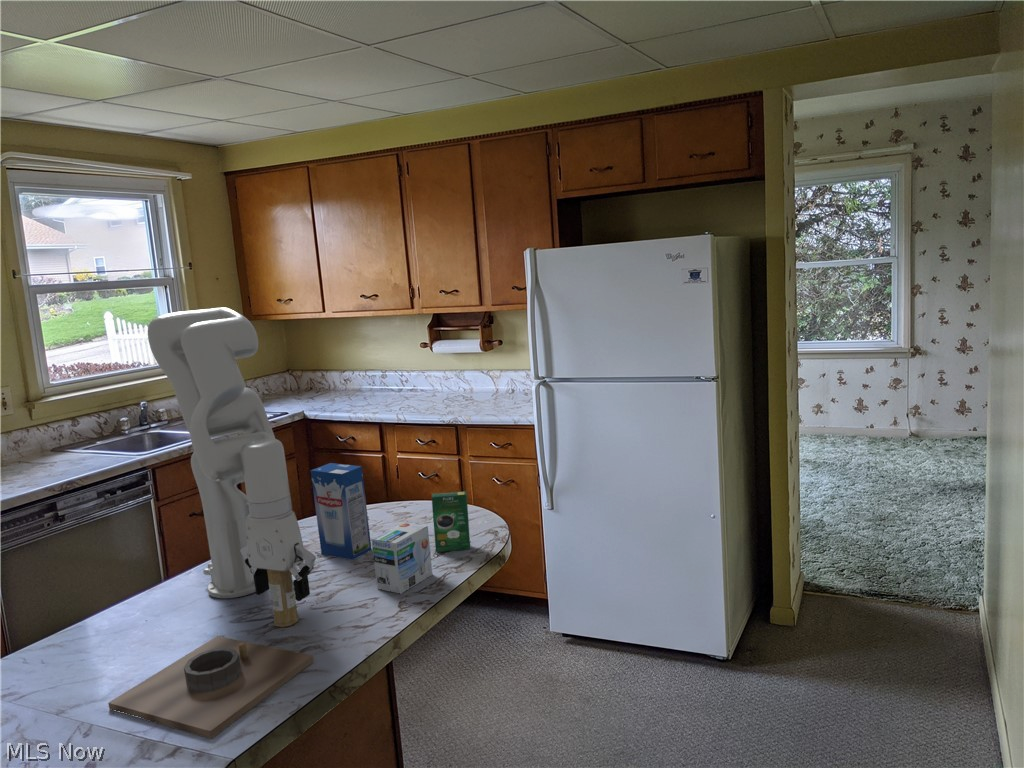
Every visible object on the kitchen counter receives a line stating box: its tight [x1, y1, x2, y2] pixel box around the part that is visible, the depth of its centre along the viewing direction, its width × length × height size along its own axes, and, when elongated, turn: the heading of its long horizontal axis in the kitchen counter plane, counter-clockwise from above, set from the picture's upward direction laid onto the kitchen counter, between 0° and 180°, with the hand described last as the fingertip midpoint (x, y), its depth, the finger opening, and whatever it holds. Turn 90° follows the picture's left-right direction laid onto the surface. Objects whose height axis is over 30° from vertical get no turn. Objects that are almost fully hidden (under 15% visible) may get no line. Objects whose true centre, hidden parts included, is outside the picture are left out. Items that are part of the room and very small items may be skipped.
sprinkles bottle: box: [267, 570, 299, 628], centre depth 145 cm, size 5×5×14 cm
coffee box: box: [431, 490, 471, 553], centre depth 175 cm, size 8×3×13 cm, turn 94°
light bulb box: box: [370, 521, 433, 595], centre depth 159 cm, size 11×7×11 cm, turn 148°
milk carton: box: [310, 462, 373, 561], centre depth 178 cm, size 10×6×20 cm, turn 58°
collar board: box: [108, 635, 314, 739], centre depth 126 cm, size 22×22×4 cm
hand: (283, 594), depth 145 cm, fingers open, 9 cm apart
